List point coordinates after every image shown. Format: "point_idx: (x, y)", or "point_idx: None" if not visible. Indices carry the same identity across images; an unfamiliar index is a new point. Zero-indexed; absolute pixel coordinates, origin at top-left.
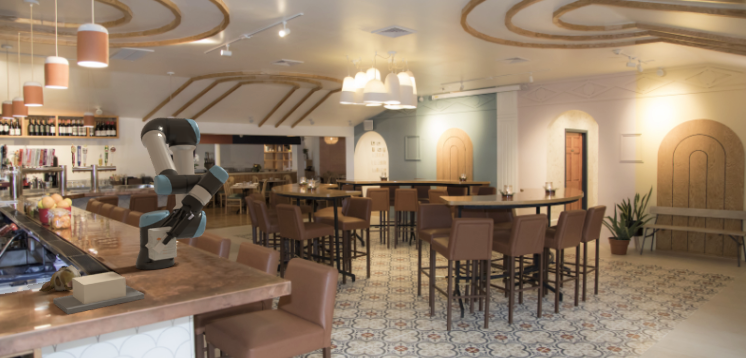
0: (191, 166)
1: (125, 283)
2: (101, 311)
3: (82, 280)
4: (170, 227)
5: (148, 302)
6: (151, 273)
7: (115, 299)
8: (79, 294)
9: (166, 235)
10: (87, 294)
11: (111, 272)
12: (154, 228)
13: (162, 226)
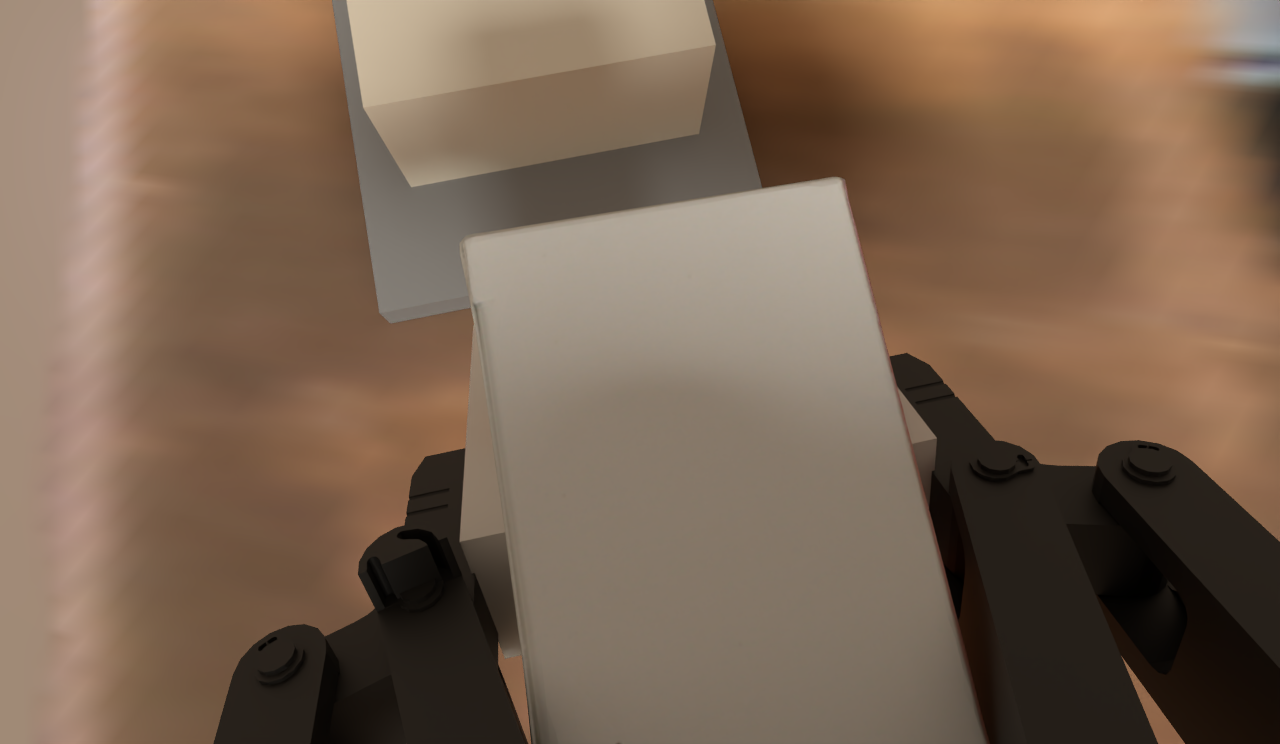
0: None
1: (381, 135)
2: (251, 39)
3: None
4: (806, 739)
5: (257, 331)
6: (1265, 527)
7: (355, 112)
8: None
9: (468, 541)
10: None
11: (677, 32)
12: (834, 313)
13: (1057, 558)
